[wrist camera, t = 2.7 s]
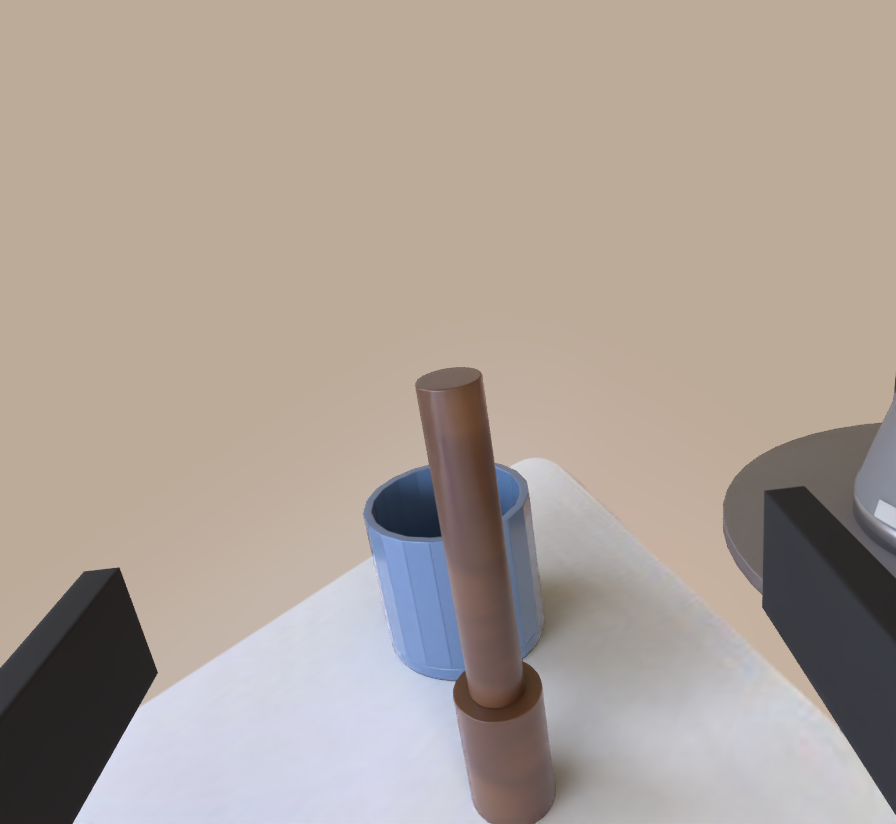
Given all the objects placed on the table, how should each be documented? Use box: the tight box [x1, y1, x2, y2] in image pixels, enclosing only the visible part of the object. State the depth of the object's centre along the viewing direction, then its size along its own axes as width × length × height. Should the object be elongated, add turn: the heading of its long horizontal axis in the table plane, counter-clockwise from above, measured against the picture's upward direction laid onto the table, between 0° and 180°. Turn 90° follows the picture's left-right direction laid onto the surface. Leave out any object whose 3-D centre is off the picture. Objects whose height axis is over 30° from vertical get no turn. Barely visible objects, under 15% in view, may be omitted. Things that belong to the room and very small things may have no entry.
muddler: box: [415, 367, 555, 824], centre depth 29 cm, size 4×4×20 cm
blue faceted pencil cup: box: [363, 463, 544, 680], centre depth 42 cm, size 9×9×9 cm
